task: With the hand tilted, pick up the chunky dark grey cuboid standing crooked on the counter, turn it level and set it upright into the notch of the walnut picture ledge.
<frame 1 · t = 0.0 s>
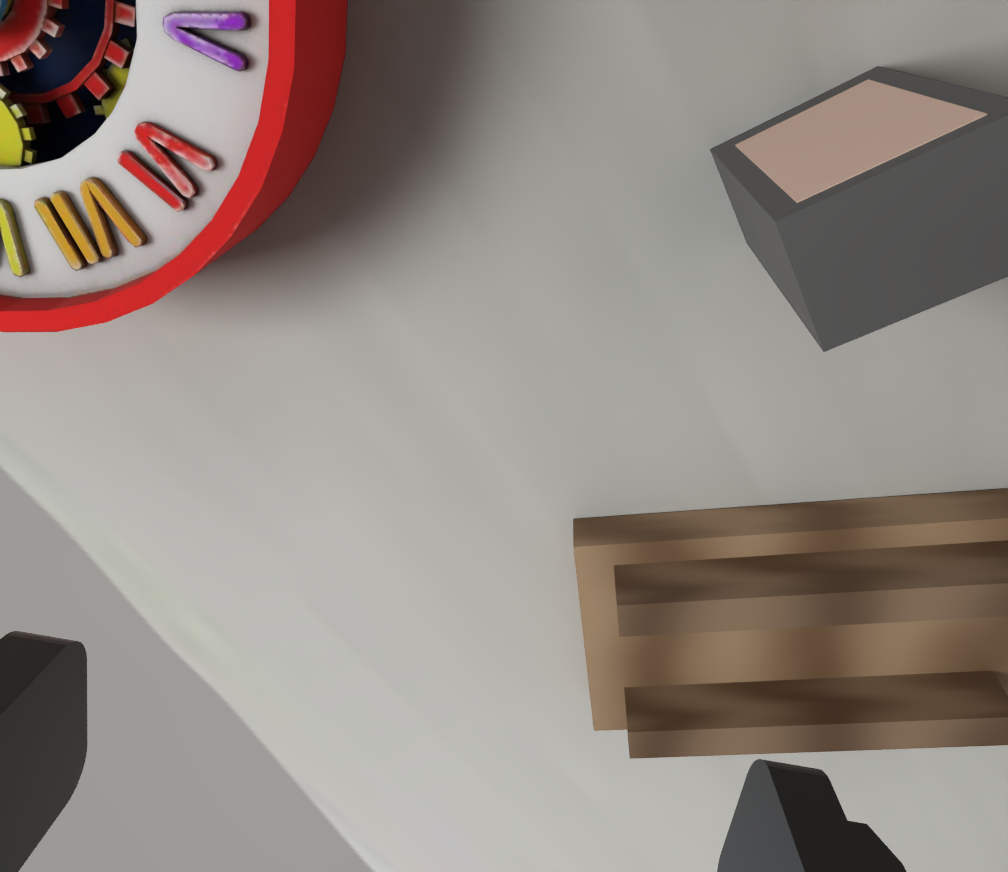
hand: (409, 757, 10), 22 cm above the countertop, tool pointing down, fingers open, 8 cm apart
picture ledge: (793, 601, 36), on the countertop
dark grey cuboid: (808, 159, 28), on the countertop
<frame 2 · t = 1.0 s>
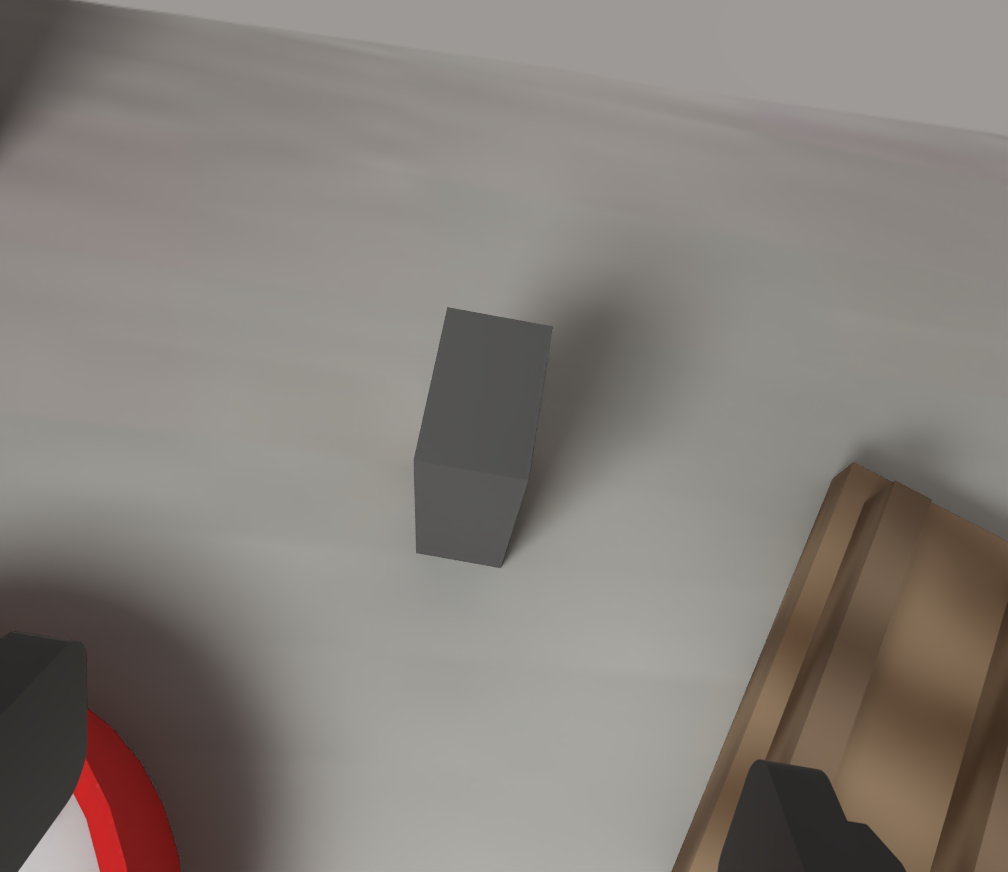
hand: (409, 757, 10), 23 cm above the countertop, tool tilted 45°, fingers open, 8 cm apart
picture ledge: (874, 723, 33), on the countertop
dark grey cuboid: (470, 498, 35), on the countertop
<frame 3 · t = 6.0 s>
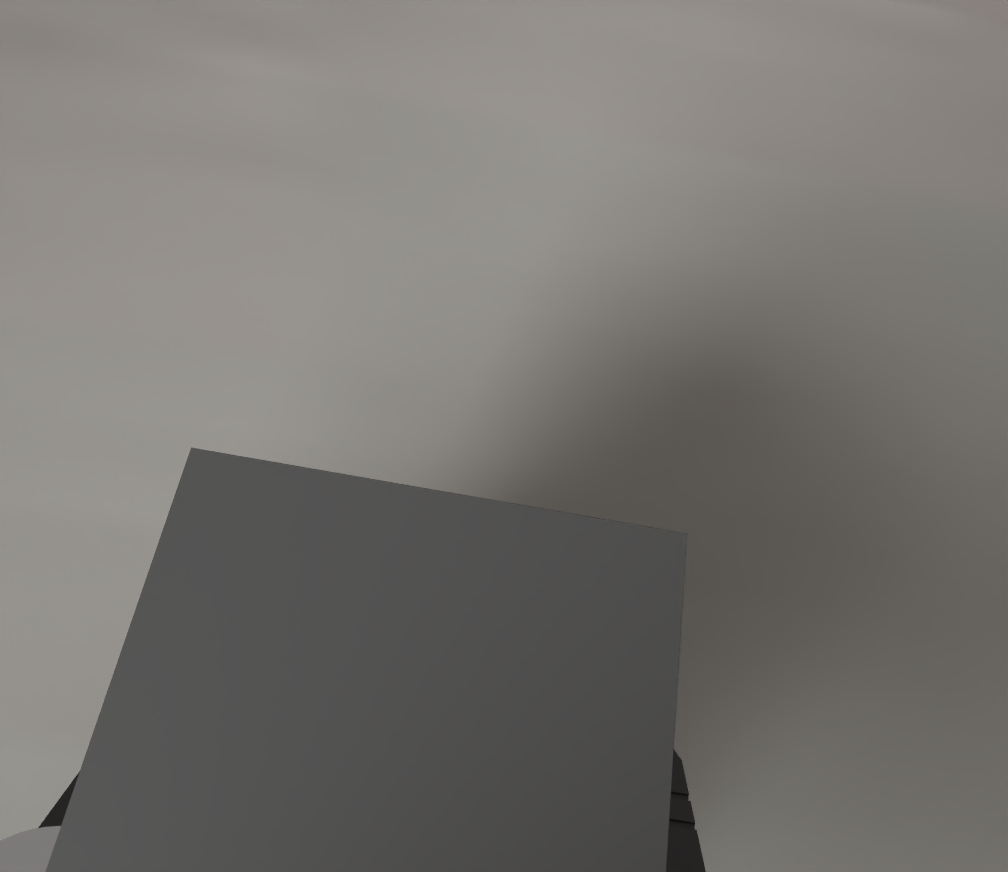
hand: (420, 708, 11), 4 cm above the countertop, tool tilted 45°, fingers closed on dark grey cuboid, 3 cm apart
dark grey cuboid: (400, 864, 14), on the countertop, touching gripper
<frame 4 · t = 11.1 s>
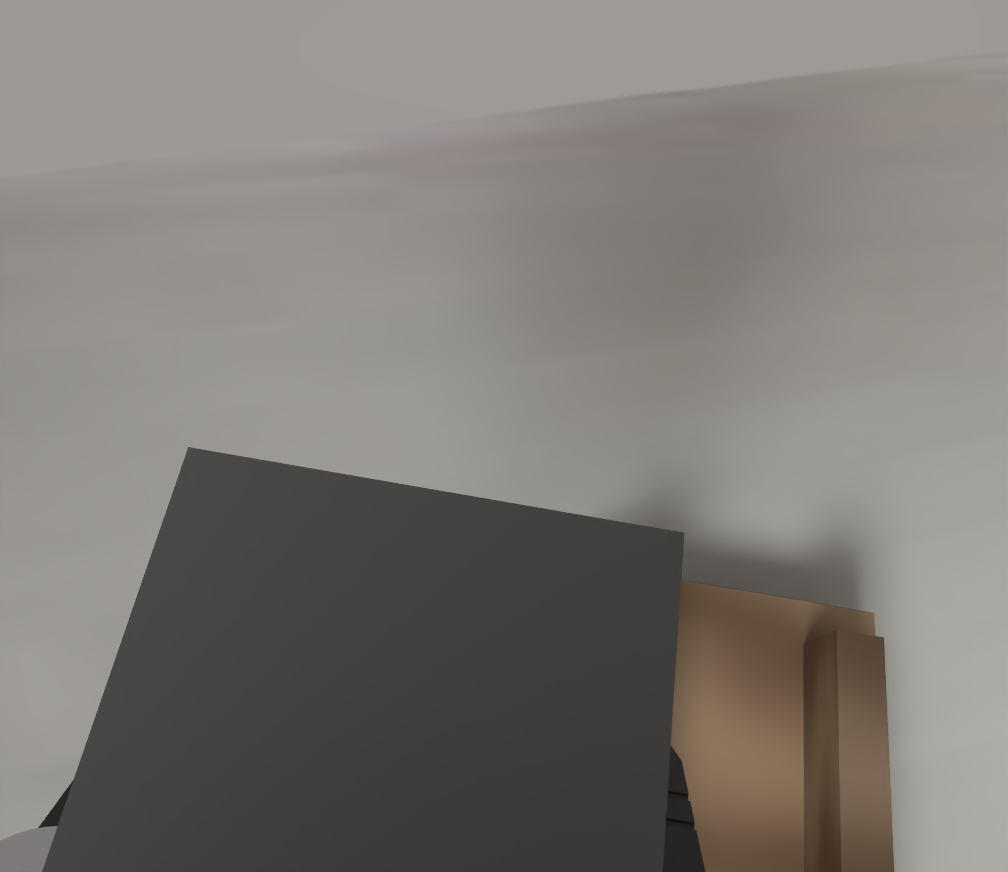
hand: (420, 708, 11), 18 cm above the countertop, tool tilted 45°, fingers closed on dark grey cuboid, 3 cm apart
dark grey cuboid: (399, 863, 14), point 14 cm above the countertop, touching gripper
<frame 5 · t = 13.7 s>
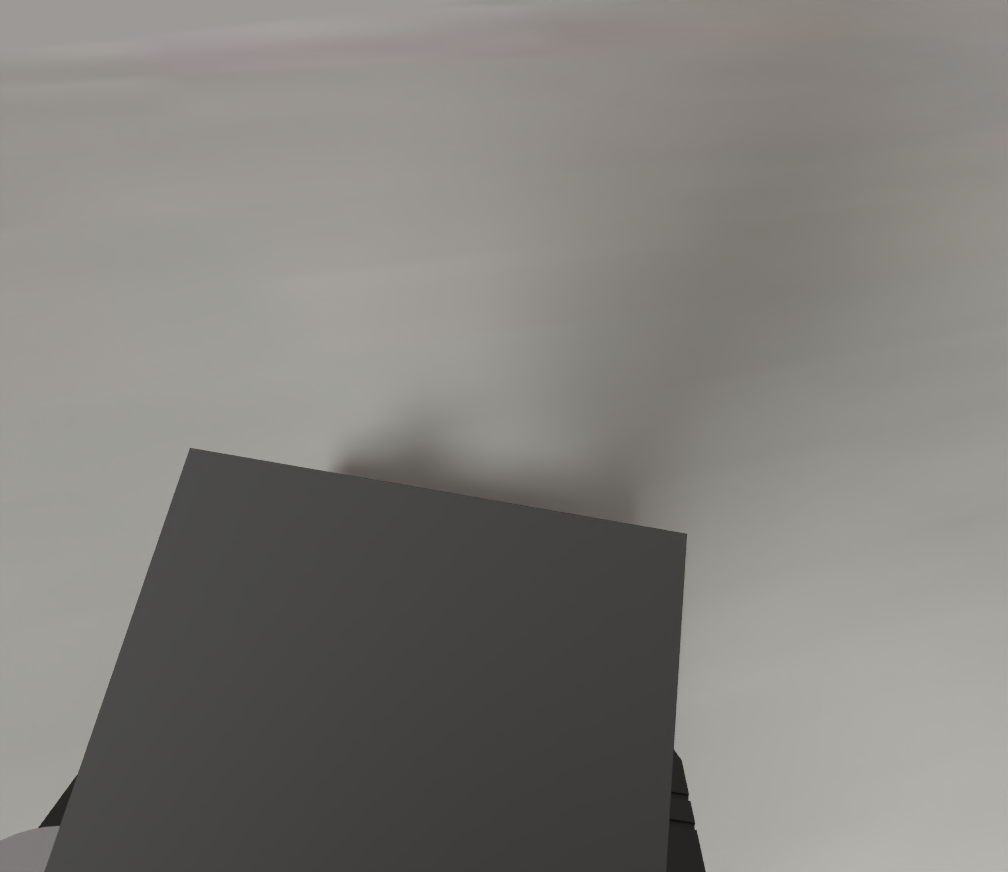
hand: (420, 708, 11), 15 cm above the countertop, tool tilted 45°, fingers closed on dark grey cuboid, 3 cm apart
dark grey cuboid: (400, 864, 14), point 11 cm above the countertop, touching gripper
when the fingers open (7 cm above the countertop, at t = 16.0 s): dark grey cuboid stays where it is, resting on picture ledge.
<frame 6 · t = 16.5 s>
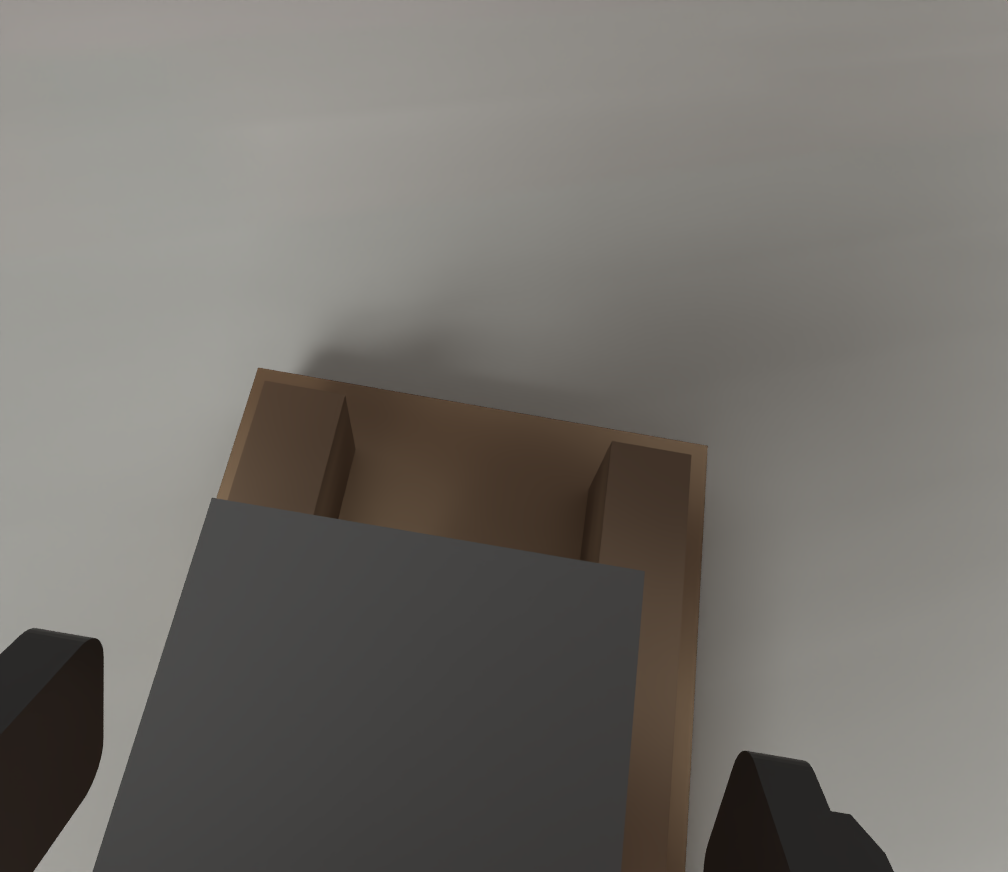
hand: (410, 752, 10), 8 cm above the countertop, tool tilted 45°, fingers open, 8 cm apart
picture ledge: (403, 857, 16), on the countertop
dark grey cuboid: (398, 861, 15), point 2 cm above the countertop, touching picture ledge
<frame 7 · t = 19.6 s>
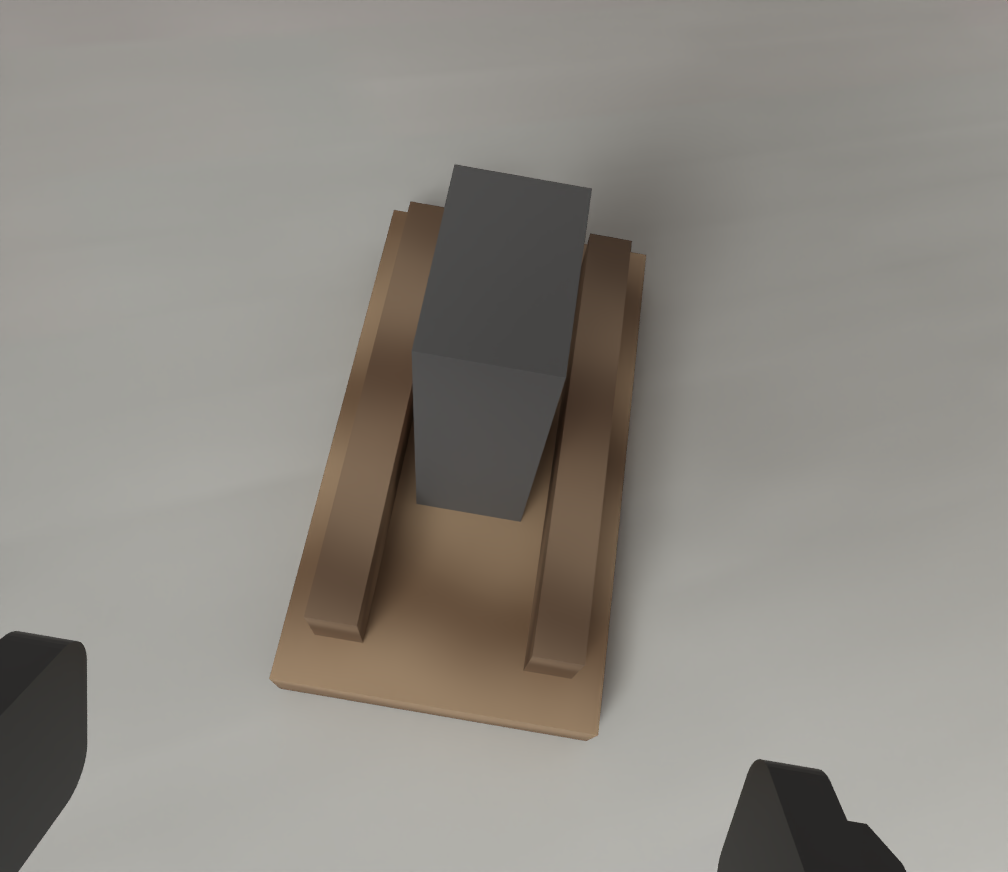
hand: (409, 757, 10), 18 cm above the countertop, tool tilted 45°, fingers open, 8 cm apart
picture ledge: (479, 461, 31), on the countertop
dark grey cuboid: (481, 438, 29), point 2 cm above the countertop, touching picture ledge
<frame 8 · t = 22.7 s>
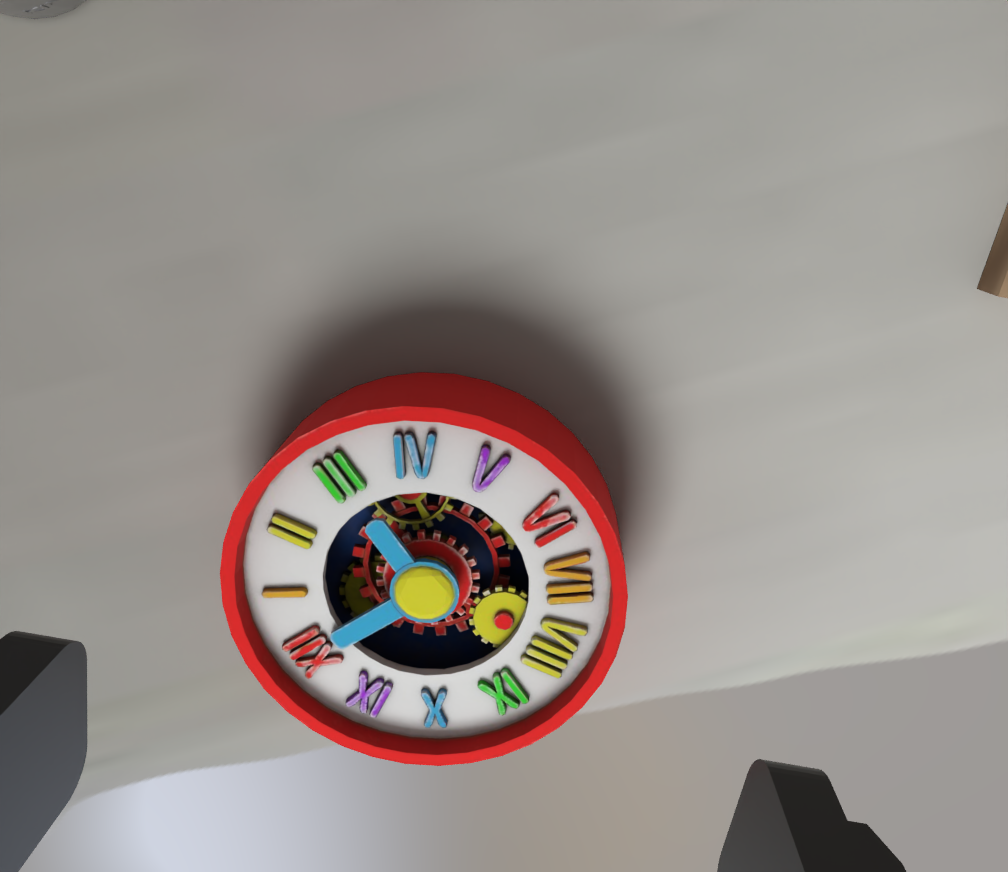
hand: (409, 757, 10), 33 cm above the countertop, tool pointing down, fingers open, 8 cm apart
toy clock: (437, 543, 47), on the countertop
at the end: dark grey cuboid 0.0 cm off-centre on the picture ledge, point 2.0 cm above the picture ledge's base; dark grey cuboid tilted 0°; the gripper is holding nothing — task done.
